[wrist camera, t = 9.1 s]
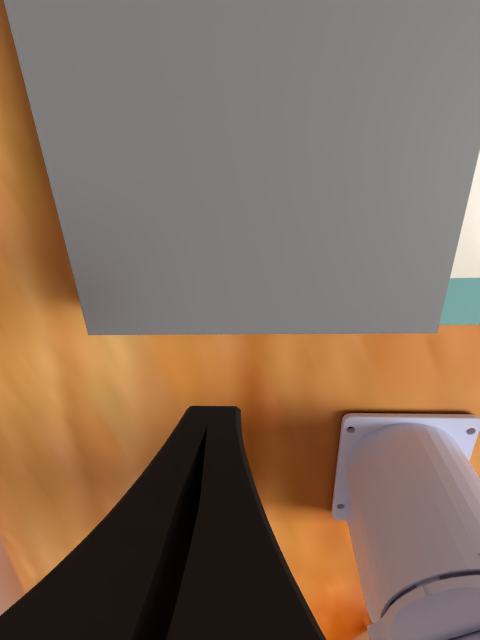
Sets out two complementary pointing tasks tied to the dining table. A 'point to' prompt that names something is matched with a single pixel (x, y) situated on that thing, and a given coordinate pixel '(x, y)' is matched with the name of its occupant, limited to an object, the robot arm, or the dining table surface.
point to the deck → (256, 158)
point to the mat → (462, 302)
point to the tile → (469, 235)
